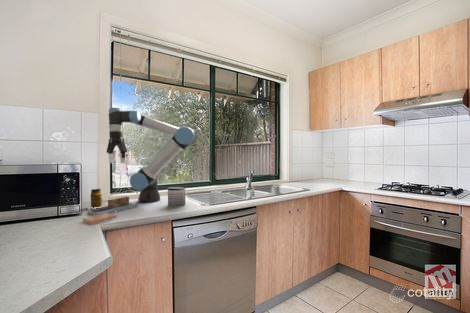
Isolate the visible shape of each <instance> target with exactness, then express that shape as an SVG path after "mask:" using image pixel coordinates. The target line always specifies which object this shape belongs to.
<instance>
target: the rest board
mask: <svg viewBox="0 0 470 313" xmlns="http://www.w3.org/2000/svg"><path fill="white" fill-rule="evenodd" d="M134 207H135V208H138V204H136V203H131V202H129V205H125V206H121V207H116V208H112V209H110V210H105V211H101V212H93V211H91V209H87V214H89V213H90V214H89V215H93V214H94V215H93V216H95V215H99V214H104V213H110V214H112V213H111V212H114V213H116V212H115V211H118V212H120V211H119V210H122V211H125V210H124V209H127V210H130V209H129V208H131V209H134Z"/></svg>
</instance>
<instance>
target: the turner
mask: <svg viewBox="0 0 470 313" xmlns="http://www.w3.org/2000/svg"><path fill="white" fill-rule="evenodd" d="M129 203H130V196H122V197H118V198H111V199H108V200H107V206H105V207H101V208H96V209H90V210H91V211H93V212H101V211H105V210H110V209H112V208H116V207H121V206H125V205H129Z"/></svg>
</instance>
